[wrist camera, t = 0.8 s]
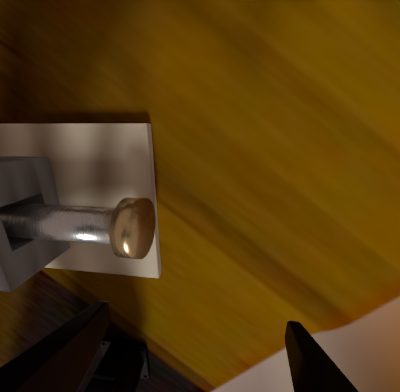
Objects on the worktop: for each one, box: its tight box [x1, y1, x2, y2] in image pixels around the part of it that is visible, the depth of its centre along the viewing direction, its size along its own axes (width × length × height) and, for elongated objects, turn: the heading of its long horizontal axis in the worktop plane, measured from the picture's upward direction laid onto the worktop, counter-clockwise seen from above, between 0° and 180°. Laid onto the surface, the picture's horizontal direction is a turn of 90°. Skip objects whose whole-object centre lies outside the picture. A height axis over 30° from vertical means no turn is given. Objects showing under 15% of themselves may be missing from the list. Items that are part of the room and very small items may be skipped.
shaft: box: [0, 197, 156, 259], centre depth 17 cm, size 13×5×5 cm, turn 90°
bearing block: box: [0, 123, 161, 292], centre depth 18 cm, size 22×16×7 cm
